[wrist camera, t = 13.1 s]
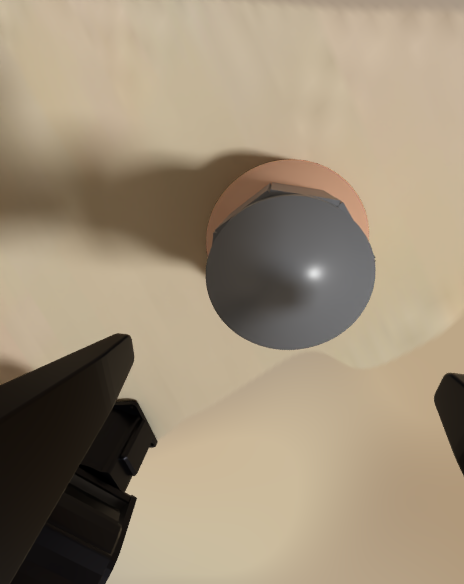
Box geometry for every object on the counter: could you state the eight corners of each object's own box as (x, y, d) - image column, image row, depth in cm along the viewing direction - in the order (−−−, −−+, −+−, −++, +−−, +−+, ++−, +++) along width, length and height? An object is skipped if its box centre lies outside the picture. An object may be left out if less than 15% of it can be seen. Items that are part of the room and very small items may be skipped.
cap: (362, 196, 13) (405, 212, 9) (325, 308, 16) (342, 362, 12) (234, 176, 14) (214, 182, 9) (220, 288, 17) (199, 333, 12)
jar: (233, 303, 21) (215, 357, 15) (200, 180, 17) (161, 189, 11) (357, 285, 19) (394, 341, 13) (350, 141, 15) (396, 127, 9)
